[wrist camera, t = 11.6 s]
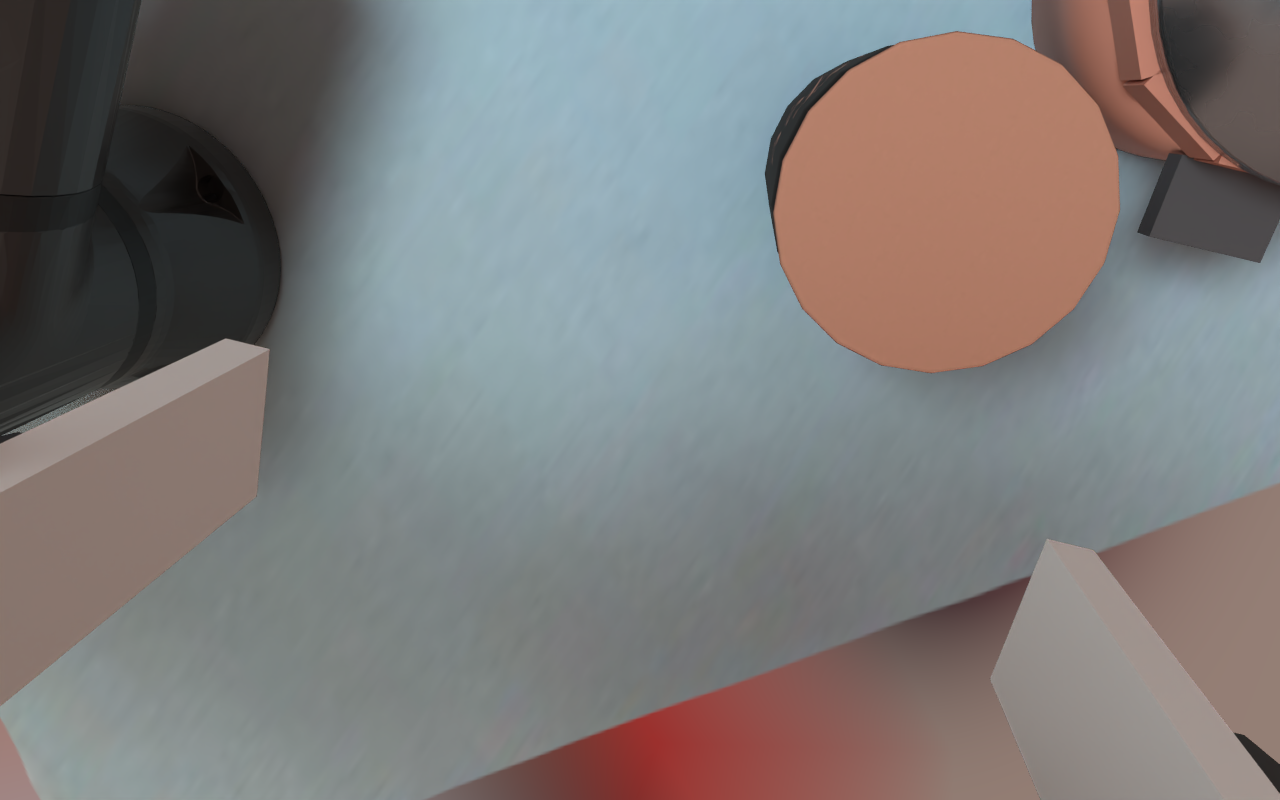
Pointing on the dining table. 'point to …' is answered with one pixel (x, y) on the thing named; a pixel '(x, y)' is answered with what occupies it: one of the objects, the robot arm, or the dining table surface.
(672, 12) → the dining table surface
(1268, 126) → the lid
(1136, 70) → the pot
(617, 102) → the dining table surface
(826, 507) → the dining table surface
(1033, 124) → the coffee jar
